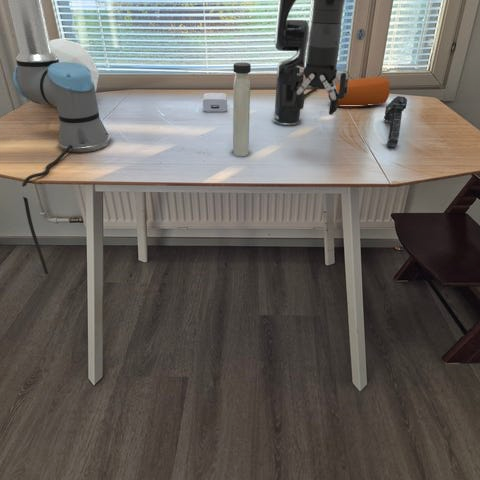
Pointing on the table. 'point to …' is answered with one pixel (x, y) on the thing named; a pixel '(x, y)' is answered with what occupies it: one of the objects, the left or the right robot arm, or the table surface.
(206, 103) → the charger
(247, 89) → the bottle
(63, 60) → the decorative sphere
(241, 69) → the cap
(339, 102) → the clog
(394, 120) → the futuristic handgun
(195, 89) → the table surface
